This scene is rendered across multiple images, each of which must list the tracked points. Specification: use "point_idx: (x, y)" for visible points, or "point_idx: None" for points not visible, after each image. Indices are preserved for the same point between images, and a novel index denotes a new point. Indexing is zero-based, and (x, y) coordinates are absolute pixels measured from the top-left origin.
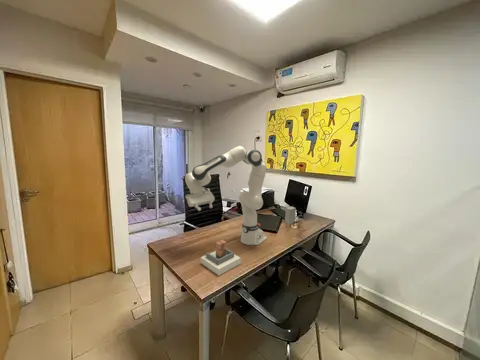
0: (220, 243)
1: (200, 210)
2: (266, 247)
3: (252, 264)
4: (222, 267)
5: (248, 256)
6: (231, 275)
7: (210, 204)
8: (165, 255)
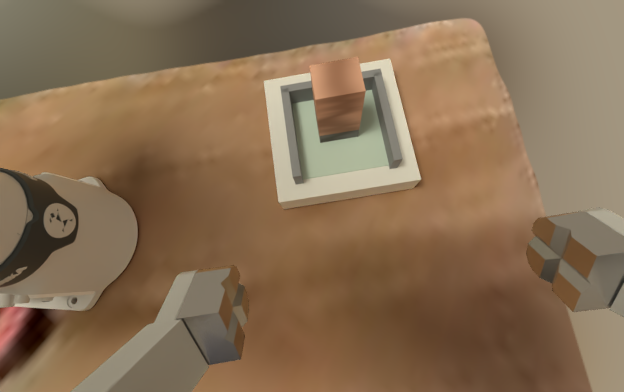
0: (346, 67)
1: (529, 250)
2: (87, 141)
3: (236, 71)
4: (369, 63)
5: (207, 123)
6: (344, 56)
7: (168, 369)
8: (567, 373)
